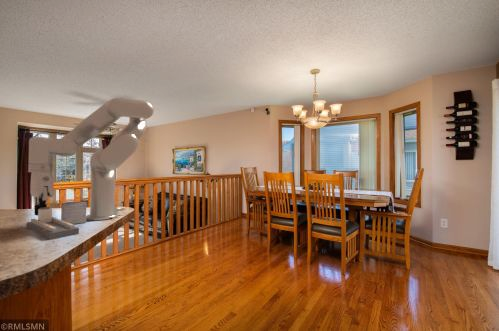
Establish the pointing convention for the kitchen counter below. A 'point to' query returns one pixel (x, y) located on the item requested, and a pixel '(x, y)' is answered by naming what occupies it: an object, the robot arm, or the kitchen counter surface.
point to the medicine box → (74, 212)
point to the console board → (52, 228)
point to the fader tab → (45, 214)
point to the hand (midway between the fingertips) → (40, 214)
